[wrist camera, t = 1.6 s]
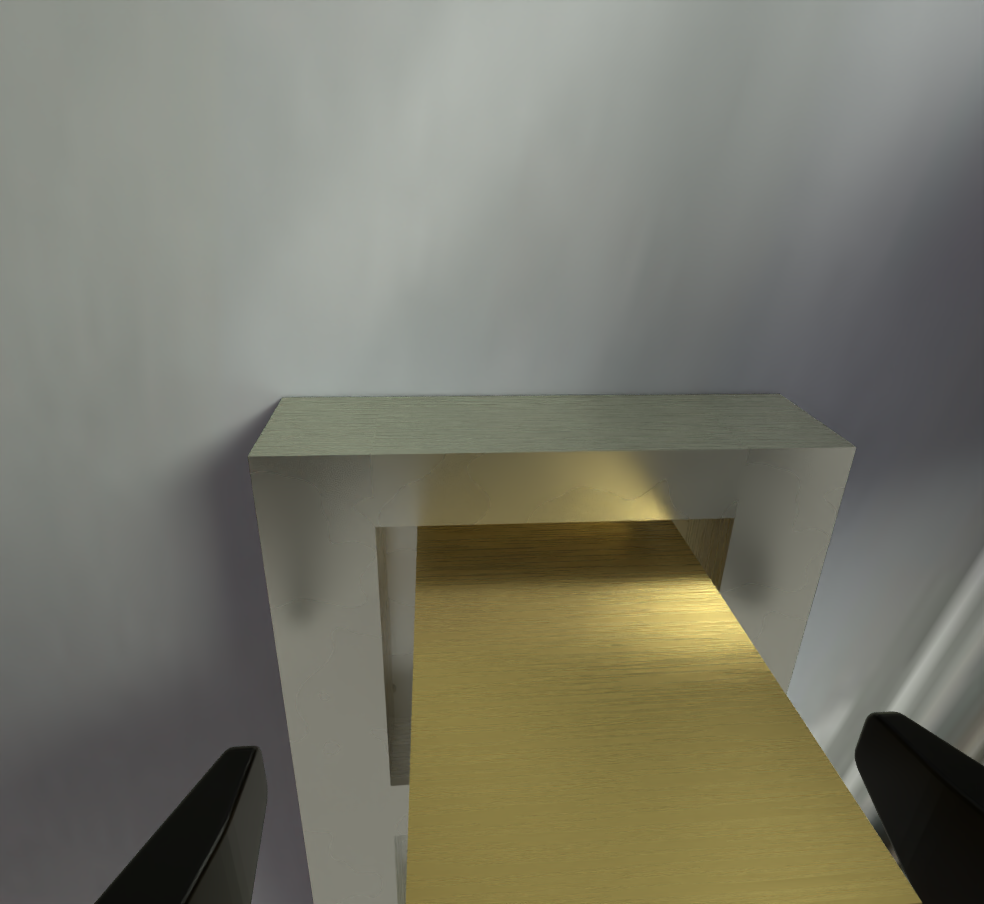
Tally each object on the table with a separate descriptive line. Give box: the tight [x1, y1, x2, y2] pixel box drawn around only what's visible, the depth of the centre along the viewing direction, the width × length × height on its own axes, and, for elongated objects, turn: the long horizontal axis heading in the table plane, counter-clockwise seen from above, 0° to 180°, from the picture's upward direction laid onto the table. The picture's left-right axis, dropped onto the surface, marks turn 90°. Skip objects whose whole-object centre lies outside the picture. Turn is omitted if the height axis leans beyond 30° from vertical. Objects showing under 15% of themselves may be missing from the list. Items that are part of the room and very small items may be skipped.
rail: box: [248, 394, 856, 904], centre depth 15 cm, size 9×22×3 cm, turn 179°
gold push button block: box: [406, 520, 922, 904], centre depth 9 cm, size 4×4×7 cm
